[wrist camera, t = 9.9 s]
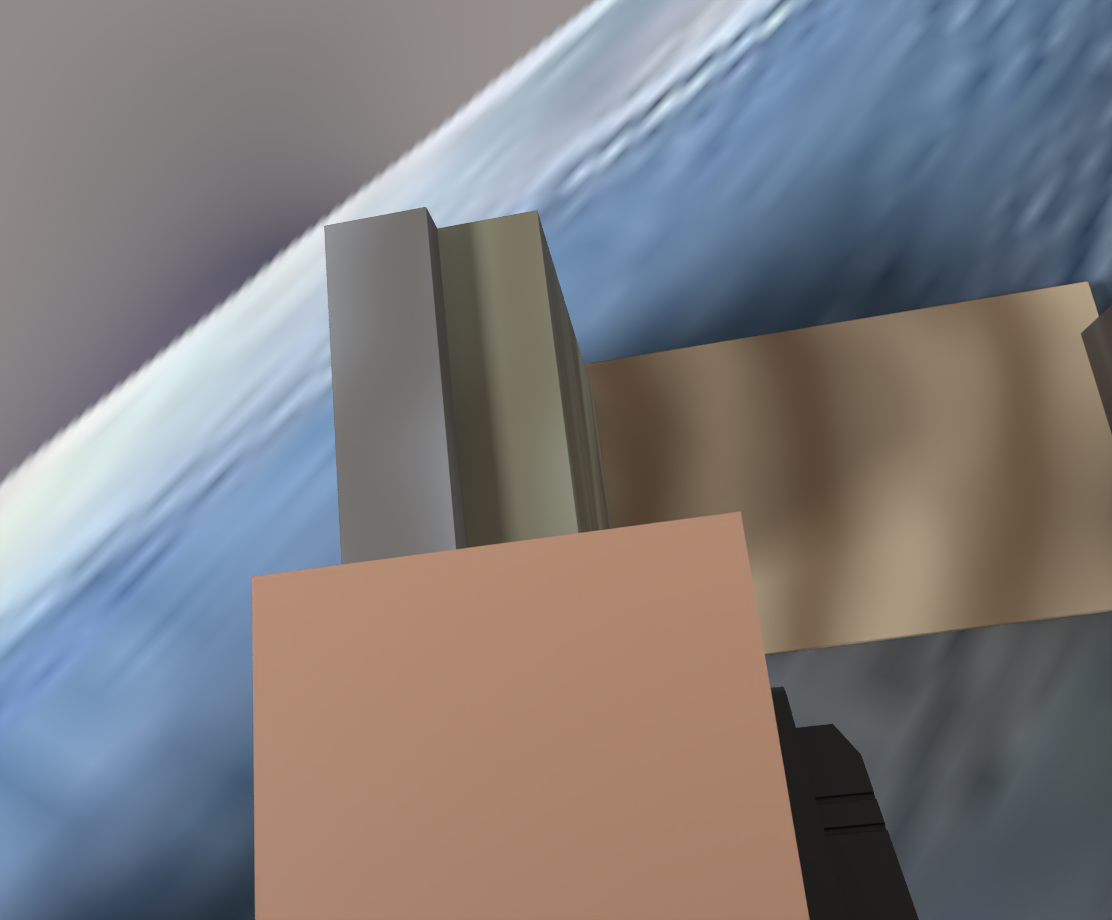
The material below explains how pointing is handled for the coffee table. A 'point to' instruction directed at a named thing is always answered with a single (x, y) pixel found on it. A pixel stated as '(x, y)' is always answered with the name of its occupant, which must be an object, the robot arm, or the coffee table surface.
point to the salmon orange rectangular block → (522, 735)
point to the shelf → (728, 436)
